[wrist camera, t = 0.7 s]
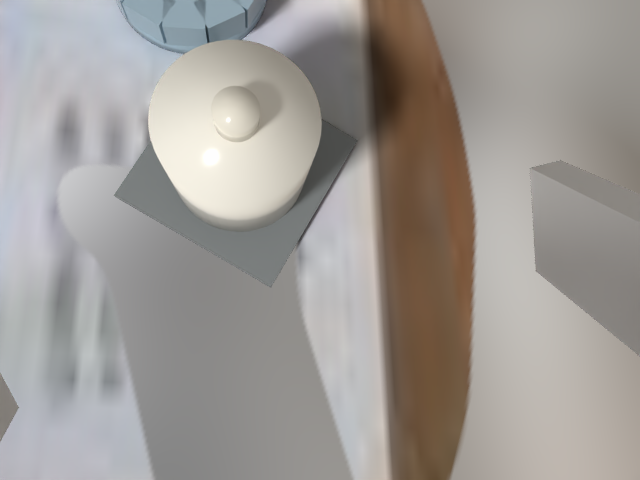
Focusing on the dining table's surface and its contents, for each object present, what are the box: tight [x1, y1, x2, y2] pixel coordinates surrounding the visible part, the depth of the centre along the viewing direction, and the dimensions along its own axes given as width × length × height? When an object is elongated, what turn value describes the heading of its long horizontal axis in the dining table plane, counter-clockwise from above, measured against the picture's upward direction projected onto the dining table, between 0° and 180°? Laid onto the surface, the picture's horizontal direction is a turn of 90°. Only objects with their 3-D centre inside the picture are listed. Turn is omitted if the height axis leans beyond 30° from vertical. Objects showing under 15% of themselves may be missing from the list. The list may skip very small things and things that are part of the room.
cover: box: [148, 40, 322, 232], centre depth 33 cm, size 9×9×11 cm
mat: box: [114, 119, 357, 287], centre depth 38 cm, size 12×12×1 cm
